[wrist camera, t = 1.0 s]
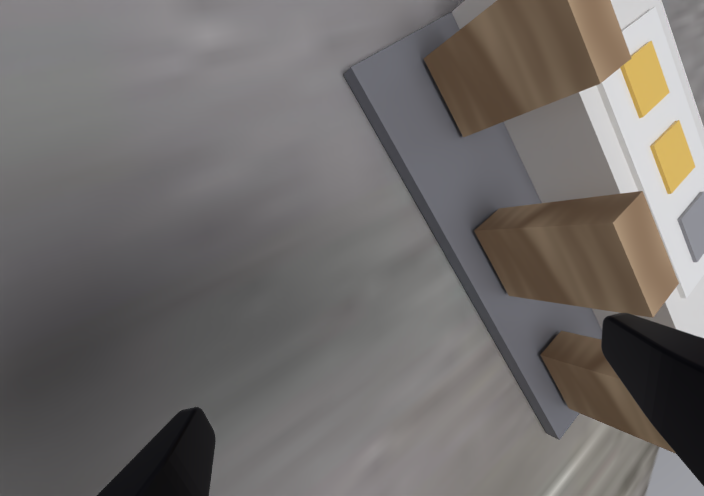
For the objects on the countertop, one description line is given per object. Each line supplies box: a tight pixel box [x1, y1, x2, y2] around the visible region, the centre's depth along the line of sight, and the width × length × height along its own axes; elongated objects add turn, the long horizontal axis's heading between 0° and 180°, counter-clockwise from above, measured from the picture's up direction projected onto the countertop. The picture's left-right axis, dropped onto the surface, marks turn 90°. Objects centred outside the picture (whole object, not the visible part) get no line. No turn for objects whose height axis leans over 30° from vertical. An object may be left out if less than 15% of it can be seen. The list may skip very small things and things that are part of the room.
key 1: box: [541, 331, 675, 453], centre depth 22 cm, size 2×5×8 cm, turn 35°
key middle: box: [474, 191, 679, 318], centre depth 20 cm, size 2×5×8 cm, turn 35°
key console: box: [344, 0, 704, 440], centre depth 24 cm, size 18×28×6 cm, turn 35°
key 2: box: [424, 0, 631, 137], centre depth 18 cm, size 2×5×8 cm, turn 35°
